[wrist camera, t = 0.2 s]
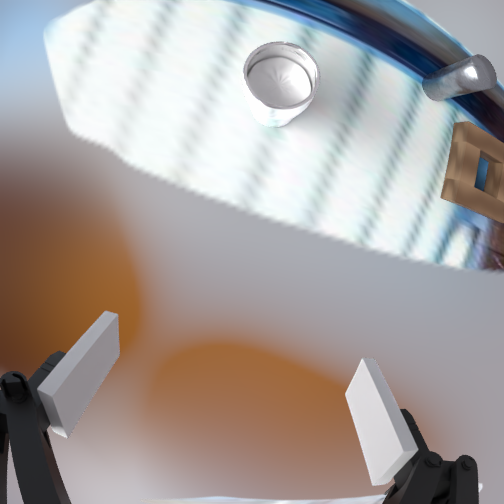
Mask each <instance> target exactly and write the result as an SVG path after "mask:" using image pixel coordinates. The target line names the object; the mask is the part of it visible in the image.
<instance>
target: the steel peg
mask: <svg viewBox="0 0 504 504" xmlns="http://www.w3.org/2000/svg"><path fill="white" fill-rule="evenodd" d="M496 82H497V77H496V73H495V70H494V68H493V66H492V64H491V63H490V61H489V60H488V59H487V58H486V57H484V56H482V55H474V56H472V57H469V58H467V59H464V60H462V61H459V62H457V63H454V64H452V65H449V66H447V67H445V68H442V69H440V70H438V71H435V72H433V73H431V74H428V75H426V76H425V77H424V78H423V81H422V86H423V90H424V92H425V93H426V95H427V96H428V97H429V98H430V99H432V100H434V101H440V100H444V99H448V98H452V97H456V96H460V95H464V94H468V93H472V92H477V91H481V90H486V89H490V88H493V87H495V85H496Z"/></svg>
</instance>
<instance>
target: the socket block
mask: <svg viewBox="0 0 504 504" xmlns="http://www.w3.org/2000/svg"><path fill="white" fill-rule="evenodd" d="M479 157H481V158H483V159H484V160H486V161H488V162H489V163H488V170H487V175H486V181H485V186H484V191H481V190H479V189H477V188H475V187H474V185H475V180H476V174H477V169H478V163H479ZM441 198H442V199H445V200H447V201H450V202H452V203H455V204H457V205H460V206H462V207H464V208H467V209H469V210H472V211H474V212H476V213H478V214H481V215H483V216H485V217H487V218H490V219H493V220H495V221H498V222H501V223H504V143H502V142H501V141H499V140H498V139H496V138H495V137H493V136H492V135H490V134H489V133H487V132H485V131H484V130H482V129H480V128H479V127H477V126H476V125H474V124H472V123H470V122H469V121H468V122H460V123H454V128H453V135H452V142H451V148H450V154H449V160H448V165H447V170H446V175H445V180H444V185H443V189H442V194H441Z"/></svg>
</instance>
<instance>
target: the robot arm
mask: <svg viewBox="0 0 504 504" xmlns="http://www.w3.org/2000/svg"><path fill="white" fill-rule="evenodd" d="M119 355H120V352H119V335H118V314H115V313H111V312H108V311H105V312H104V313H103V314H102V315H101V316H100V317H99V318H98V319H97V320H96V322H94V324H93V325H92V326H91V327H90V328H89V329H88V330H87V332H85V334H84V335H83V336H82V337H81V338H80V339H79V340H78V342H77V343H76V344H75V345H74V346H73V347H72V348H71V349H70V351H69V352H68V353H67V354H66V353H64V352H61V351H58V352H56V353H54V354H52V355H50V356H49V357H48V359H47V360H46V361H45V363H43V364H42V365H41V366H40V368H38V370H37V371H36V372H35V373H34V374H33V375H32V377H31V378H30V379H29V380H28V381H27V379H26V377H25V376H24V375H23V374H22V373H20V372H17V371H11V372H7V373H6V374H4V375H2V377H1V378H0V387H1V390H0V504H7V461H8V449H9V439H10V446H11V452H12V457H13V462H14V467H15V471H16V476H17V480H18V484H19V488H20V492H21V495H22V499H23V502H24V504H71V502H70V499H69V497H68V494H67V491H66V489H65V486H64V483H63V481H62V478H61V475H60V472H59V469H58V466H57V463H56V460H55V457H54V453H53V450H52V447H51V443H50V439H49V435H48V432H47V428H48V427H49V425H51V427H52V429H53V432H55V433H57V434H59V435H61V436H63V437H65V438H67V439H68V438H69V436H70V434H71V433H72V431H73V429H74V428H75V426H76V424H77V422H78V421H79V419H80V417H81V416H82V414H83V412H84V411H85V409H86V408H87V406H88V404H89V403H90V401H91V399H92V398H93V396H94V395H95V393H96V391H97V390H98V388H99V387H100V385H101V383H102V381H103V380H104V379H105V377H106V375H107V374H108V372H109V371H110V369H111V367H112V366H113V365H114V363H115V361H116V360H117V358H118V357H119ZM345 395H346V398H347V402H348V405H349V408H350V411H351V414H352V418H353V421H354V424H355V427H356V430H357V434H358V437H359V440H360V444H361V447H362V451H363V454H364V457H365V461H366V464H367V468H368V471H369V475H370V478H371V482H372V485H373V486H375V485H382V484H387V483H388V482H389V481H390V480H391V479H392V478H393V477H394V480H395V484H394V485H392V486H391V487H390V488H389V489H388V490H387V491H386V492H385V494H384V495H386V494H387V493H388V492H389V493H388V494H387V496H386V498H385V500H384V501H383V503H382V504H479V495H478V494H479V492H478V470H477V464H476V462H475V460H474V459H473V458H472V457H470V456H468V455H462V456H460V457H459V458H458V459H457V460H456V461H443V459H442V458H441V456H439V454H437V453H435V452H432V451H429V449H428V447H427V445H426V443H425V441H424V439H423V437H422V435H421V433H420V431H419V430H418V427H417V425H416V422H415V421H414V419H413V417H412V415H411V414H410V413H409V412H408V411H407V410H406V409H399V407H398V405H397V403H396V400H395V399H394V396H393V394H392V392H391V390H390V388H389V387H388V384H387V382H386V380H385V378H384V376H383V374H382V373H381V370H380V368H379V367H378V365H377V363H376V361H375V359H371V358H362V360H361V362H360V364H359V366H358V369H357V371H356V373H355V375H354V377H353V379H352V381H351V383H350V385H349V387H348V389H347V391H346V393H345Z"/></svg>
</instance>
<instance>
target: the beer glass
mask: <svg viewBox="0 0 504 504" xmlns="http://www.w3.org/2000/svg"><path fill="white" fill-rule="evenodd" d="M242 83H243V92H244V95H245V98H246V101H247V103H248V104H249V106H250V107H251V111H252V114H253V116H254V117H255V119H256V120H257V121H258V122H259V123H261V124H262V125H265V126H267V127H281V126H284V125H286V124H288V123H289V122H290V121H291V120H292V119H293V118H294V117H296V116H297V115H299V114H300V113H302V112H303V111H304V110H305V109H306V108H307V107H308V106H309V104H310V103H311V101H312V100H313V98H314V96H315V93H316V92H317V90H318V87H319V83H320V72H319V68H318V65H317V63H316V61H315V60H314V58H313V57H312V56H311V55H310V54H309V53H308V52H307V51H306V50H305V49H303V48H301V47H300V46H297V45H295V44H292V43H288V42H271V43H267V44H264V45H262V46H260V47H258V48H257V49H255V50H254V51H253V52H252V53H251V54H250V55H249V56H248V58H247V60H246V62H245V64H244V67H243V81H242Z"/></svg>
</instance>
